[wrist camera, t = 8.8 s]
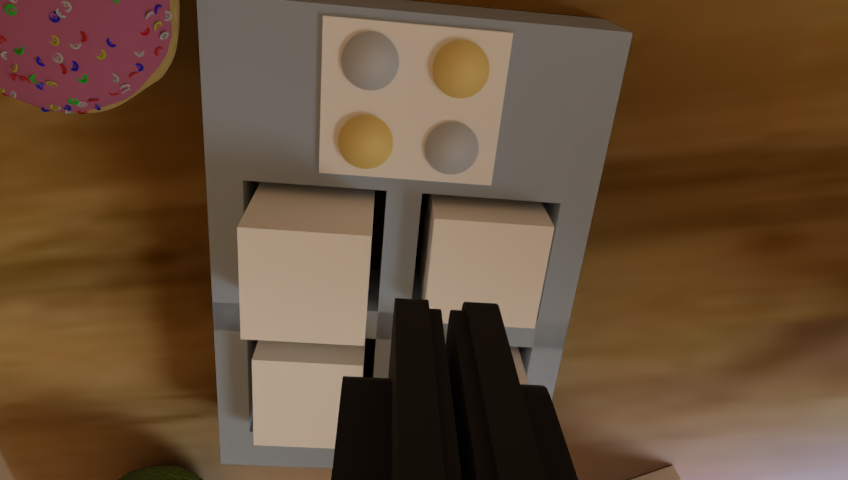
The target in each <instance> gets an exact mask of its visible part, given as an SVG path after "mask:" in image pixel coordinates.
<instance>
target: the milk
mask: <svg viewBox="0 0 848 480" xmlns="http://www.w3.org/2000/svg"><path fill="white" fill-rule="evenodd" d="M631 480H681V478H680V476H679V474H678V472H677V470H676V468H675V467H674V466H673V465H672V466H669V467H666V468H663V469H660V470H657V471H654V472H651V473H649V474H646V475H643V476H640V477H637V478H634V479H631Z"/></svg>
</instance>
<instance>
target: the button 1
mask: <svg viewBox="0 0 848 480" xmlns="http://www.w3.org/2000/svg"><path fill="white" fill-rule="evenodd" d="M374 200H375V190H370V189H356V188H342V187H328V186H315V185H301V184H287V183H273V182H260V184H259V186H258V188H257V190H256V191H255V193H254V195H253V197H252V199H251V201H250V203H249V205H248V207H247V209H246V211H245V213H244V215H243V216H242V218H241V220H240V222H239V224H238V226H237V244H238V275H239V306H240V338H241V339H245V340H264V341H282V342H300V343H318V344H337V345H355V346H364V345H365V332H366V318H367V305H368V291H369V277H370V261H371V246H372V231H373V215H374Z"/></svg>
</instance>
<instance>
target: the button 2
mask: <svg viewBox="0 0 848 480" xmlns="http://www.w3.org/2000/svg"><path fill="white" fill-rule="evenodd" d="M365 341H366V338H365ZM364 356H365V345H364V346H355V345H337V344H318V343H300V342H282V341H264V340H258V342H257V345H256V348H255V351H254V354H253V357H252V396H253V438H254V445H259V446H283V447H306V448H329V449H335V441H336V432H337V423H338V414H339V405H340V396H341V387H342V379H343V376H350V377H363V371H364Z"/></svg>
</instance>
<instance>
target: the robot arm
mask: <svg viewBox="0 0 848 480" xmlns="http://www.w3.org/2000/svg"><path fill="white" fill-rule="evenodd" d="M331 480H578V478H577V475H576V472H575V469H574V466H573V463H572V460H571V457H570V454H569V451H568V448H567V445H566V442H565V439H564V436H563V433H562V430H561V427H560V424H559V421H558V418H557V415H556V412H555V409H554V406H553V403H552V400H551V397H550V394H549V392H548V390H547V388H546V387H545V386H544V385H524V384H520V382H519V378H518V374H517V371H516V367H515V363H514V360H513V356H512V352H511V349H510V345H509V341H508V338H507V334H506V330H505V327H504V323H503V319H502V316H501V312H500V308H499V306H498V304H496V303H478V302H464V303H463V306H462V310H451V311H450V314H449V321H448V329H447V337H446V345H445V336H444V328H443V320H442V312H441V309H429V301H428V300H424V299H406V298H395V302H394V312H393V324H392V337H391V349H390V361H389V374H388V378H372V377H350V376H343V379H342V387H341V396H340V405H339V414H338V423H337V432H336V441H335V450H334V459H333V468H332V477H331Z"/></svg>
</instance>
